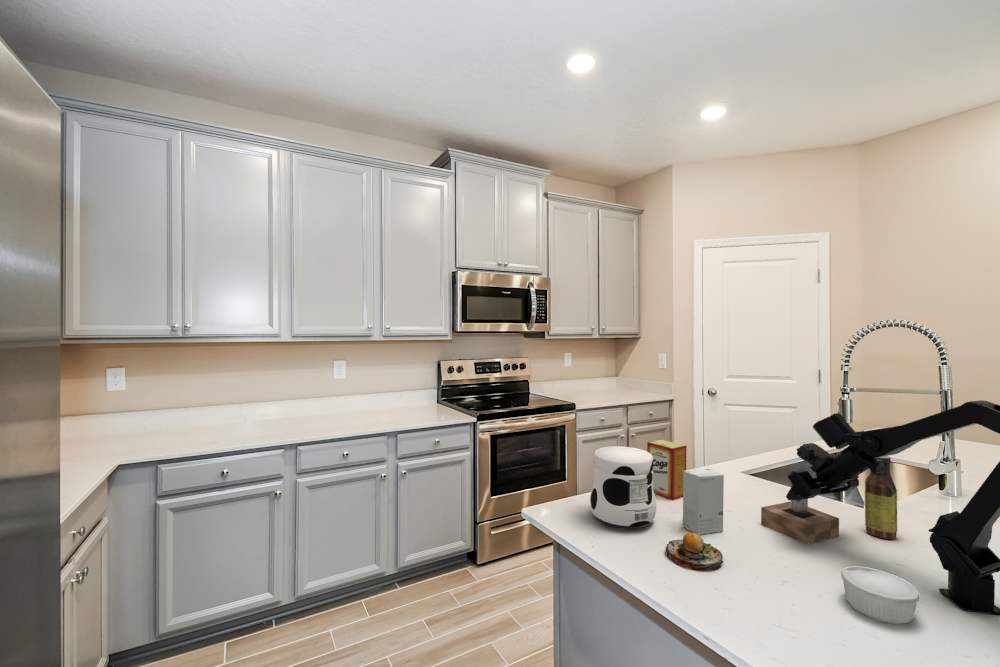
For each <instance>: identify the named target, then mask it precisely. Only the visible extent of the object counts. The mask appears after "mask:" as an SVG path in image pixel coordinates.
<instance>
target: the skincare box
mask: <svg viewBox="0 0 1000 667" xmlns="http://www.w3.org/2000/svg"><path fill="white" fill-rule="evenodd" d="M724 477H725V475H724V474H723V473H720V472H718V471H715V470H713V469H709V468H701V469H700V468H699V469H698V468H697V469H696V468H695V469H686V470H685V471H683V497H682V526H683V528H686V529H687V530H689V531H690V532H692V533H696V534H698V535H699V536H701V535H707V534H713V533H721V532H724V485H725V484H724V481H725V479H724Z"/></svg>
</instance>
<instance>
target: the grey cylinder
mask: <svg viewBox="0 0 1000 667" xmlns="http://www.w3.org/2000/svg"><path fill="white" fill-rule="evenodd" d="M789 481H790V480H789ZM789 483H790V488H791V487H792V482H791V481H790V482H789ZM790 501H791V514H792V515H795V516H797V517H800V518H802V519H803V518H808V507H809V506H808V505H809V502H808V501H809V499H799V500H790Z"/></svg>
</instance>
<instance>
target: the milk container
mask: <svg viewBox="0 0 1000 667" xmlns="http://www.w3.org/2000/svg"><path fill="white" fill-rule="evenodd" d="M591 488H592V489H591V491H590V495H589V496H590V497H589V503H590V509H591V513H592V514H593V515H594V517H595V518H596V519H597V520H598V521H600V522H602V523H603V524H606V525H608V526H613V527H616V528H623V529H639V528H643V527H646V526H648V525H649V524H651V523H652V522H653V521H654V519H656V513H657V499H656V494H654V491H653V457H652V455H651V454H650V453H649V452H647V450H645V449H641V448H636V447H630V446H624V445H623V446H620V445H618V446H616V445H612V446H603V447H599V448H597V449H596V450H594V455H593V484H592V487H591Z"/></svg>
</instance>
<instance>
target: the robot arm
mask: <svg viewBox="0 0 1000 667" xmlns="http://www.w3.org/2000/svg"><path fill="white" fill-rule="evenodd" d="M974 425H980V426H981V427H984V428H986V429H988V430H991V431H993V432H995V433H996V434H999V435H1000V404H996V403H993V402H991V401H987V400H983V399H982V400H981V399H980V400H971V401H966V402H964V403H963V404H961V405H959V406H955V407H953V408H950V409H947V410H943V411H940V412H938V413H935V414H932V415H929V416H926V417H922V418H920V419H916V420H913V421H911V422H908V423H905V424H902V425H896V426H890V427H888V426H887V427H884V428H882V427H881V428H877V429H875V428H874V429H870V430H869V429H868V430H860V431H855V429H854V428H853V427H852V426H851V425H850V424H849V423H848V422H847V420H846V419H845V418H844V417H843V415H842V414H841V413H838V412H837V413H832V415H828V416H827V417H825V418H822V419H821V420H817V421H816V422H815V423H814V424H813V425H812V428H813V430H814V431H815V433H817V435H818V436H819V437H820V438H821V439H822V440H823V441H824V443H825V444H826V445H827V446H828V448H831V449H832V448H835V449H836V450H841V449H843V450H841V451H839V452H838V453H837V454H835V455H833V456H832V455H831V454H830V453H829V452H828V451H827V450H825V449H824V448H822V447H821V446H819V444H816V443H814V442H810V443H809V442H808V443H803V444H802V445H800V447H797V448H796V451H797V452H796V454H797V457H799V458H800V459H802V461H804V462H806V463H808V464H810V465H811V466H810V467H809V468H810V469H811V470H812V472H813V473H815V476H816V477H813V476H812V475H811V474H810V472H809V471H808V470H806V469H805V470H804V469H798V470H792V471H791V472H789V473H788V474H787V479H788V480H789V481H791V482H792V487H791V486H790V489H789V491H787V494H786V495H785V497H786V499H787V500H788V501H791V500H799V499H808V500H809V499H813V498H814V499H815V497H817V496H819V495H826V494H833V493H842V492H847V491H850V490H851V491H852V490H854V489H856V488H857V487H859V486H860V479H859V478H860V476H859V475H862V474H863V473H864V472H866V471H867V470H871V471H872V472H873V473H874V474H876V473H881V472H885V466H884V463H885V462H884V461H883V460H879V459H878V458H876V457H882V456H893V455H897V454H900V453H902V452H904V451H906V450H907V449H910V448H911V447H912V446H914V445H916V444H917V443H919V442H921V441H925V440H928V439H930V438H931V439H932V438H934V437H937V436H940V435H943V434H947V433H950V432H953V431H957V430H960V429H964V428H968V427H971V426H974ZM871 471H870V472H871ZM999 518H1000V460H999V461H998V463H997V464H996V465H995V466H994V468H993V469H992V471H991V472H990V473H989V475H987V478H985V480H984V481H983V483H982V484H981V486H980V487H979V488H978V489H977V490H976V491H975V493H974V494H973V496H972V497H971V498H970V500H969V501H968V502H967V504H966V505H965V506H964V507H963V509H962V510H961V512H959V511H957V510H955V511H952V512H949V513H945V514H940V516H939V517H938V518H937V521H936V523H935V524H934V526H933V527H932V528H930V529H928V532H930V536H929V543H930V544H931V547H932V548H933V550H934V552H936V554H937V556H938V558H939V562H940V563H941V566H942V569H944V570H945V571H948V572H947V576H948V577H947V588H939V589H938V592H939V593H941V594H942V595H944V596H945V597H946V598H947V599H948V600H950V601H951V602H952V603H953V604H955V605H956V606H957V607H959V608H960V609H962V610H964V611H966V612H967V611H969V612H975V613H976V612H977V613H983V614H994V615H1000V607H999V606H997V605H996V604H995V599H996V598H995V593H996V590H995V586H996V585H995V584H996V580H995V579H994V575H993V574H995V573H999V572H1000V558H999V557H998V555H996V553H994V552H995V551H993V550H992V549H991V548H990V546H989V543H990V542H991V539H992V534H993V526H994V524H995V523H996V522H997V521H998V519H999Z"/></svg>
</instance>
